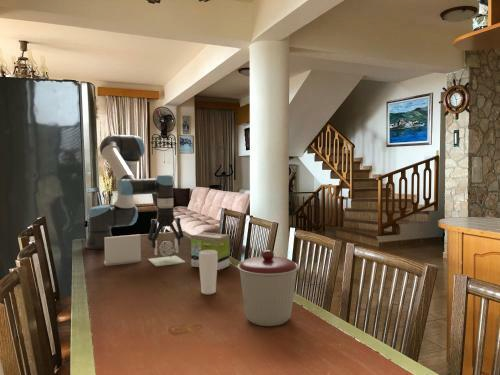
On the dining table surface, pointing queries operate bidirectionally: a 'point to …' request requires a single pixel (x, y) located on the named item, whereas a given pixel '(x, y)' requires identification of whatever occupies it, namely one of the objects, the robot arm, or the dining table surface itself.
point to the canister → (268, 288)
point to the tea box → (210, 247)
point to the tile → (166, 260)
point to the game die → (166, 248)
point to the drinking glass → (208, 270)
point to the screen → (122, 250)
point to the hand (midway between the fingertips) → (166, 253)
